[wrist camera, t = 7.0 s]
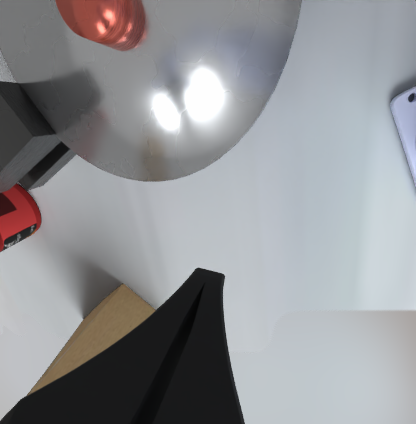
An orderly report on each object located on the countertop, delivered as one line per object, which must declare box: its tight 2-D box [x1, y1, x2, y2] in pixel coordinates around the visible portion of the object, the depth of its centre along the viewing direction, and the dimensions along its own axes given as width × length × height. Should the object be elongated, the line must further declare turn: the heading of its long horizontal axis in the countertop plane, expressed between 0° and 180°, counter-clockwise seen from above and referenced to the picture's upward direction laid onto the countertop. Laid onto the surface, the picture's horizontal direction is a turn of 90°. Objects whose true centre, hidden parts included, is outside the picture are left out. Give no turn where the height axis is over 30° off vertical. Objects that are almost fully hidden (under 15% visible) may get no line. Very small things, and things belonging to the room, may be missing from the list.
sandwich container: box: [27, 284, 156, 395], centre depth 27 cm, size 9×15×15 cm, turn 138°
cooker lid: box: [0, 0, 302, 193], centre depth 10 cm, size 23×15×3 cm, turn 121°
